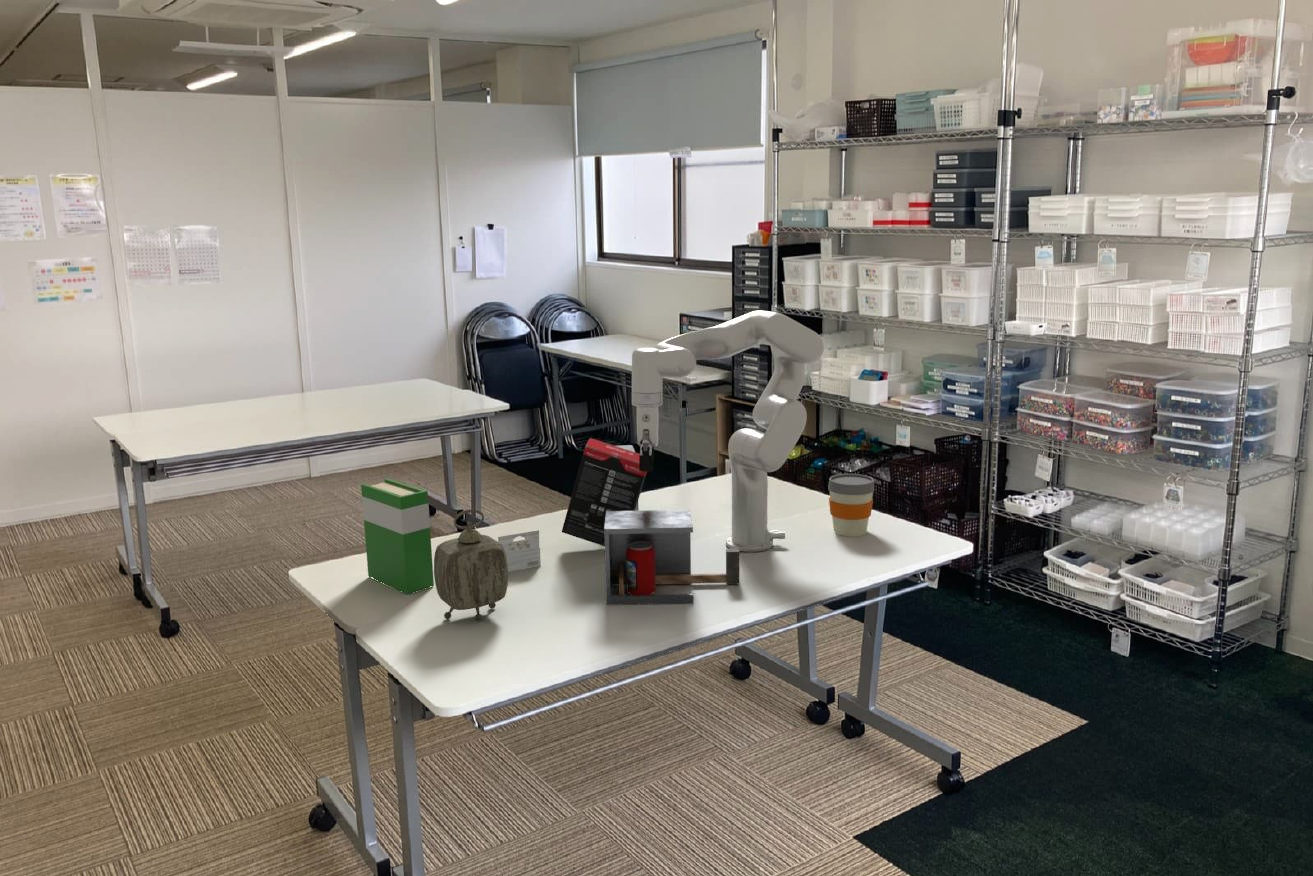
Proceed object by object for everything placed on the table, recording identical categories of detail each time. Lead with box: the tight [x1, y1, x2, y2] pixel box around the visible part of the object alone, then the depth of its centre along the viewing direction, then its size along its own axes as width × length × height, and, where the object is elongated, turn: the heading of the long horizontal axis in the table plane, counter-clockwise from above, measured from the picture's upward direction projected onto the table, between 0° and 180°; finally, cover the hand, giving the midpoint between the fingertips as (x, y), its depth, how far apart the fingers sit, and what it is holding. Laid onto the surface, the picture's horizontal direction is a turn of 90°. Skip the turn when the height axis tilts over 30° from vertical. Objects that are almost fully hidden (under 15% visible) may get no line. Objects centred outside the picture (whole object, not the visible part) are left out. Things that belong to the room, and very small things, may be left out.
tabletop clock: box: [433, 508, 509, 622], centre depth 228 cm, size 14×9×25 cm, turn 123°
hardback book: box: [360, 478, 435, 596], centre depth 252 cm, size 18×7×24 cm, turn 46°
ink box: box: [497, 529, 542, 573], centre depth 261 cm, size 2×11×10 cm, turn 117°
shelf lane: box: [604, 509, 695, 606], centre depth 242 cm, size 20×14×18 cm
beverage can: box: [626, 541, 656, 595], centre depth 243 cm, size 7×7×12 cm
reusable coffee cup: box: [827, 473, 875, 537], centre depth 286 cm, size 13×13×15 cm
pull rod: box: [618, 548, 740, 595], centre depth 244 cm, size 28×11×8 cm, turn 91°
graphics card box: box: [561, 437, 648, 547], centre depth 270 cm, size 17×7×27 cm, turn 85°
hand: (646, 466), depth 257 cm, fingers open, 9 cm apart
